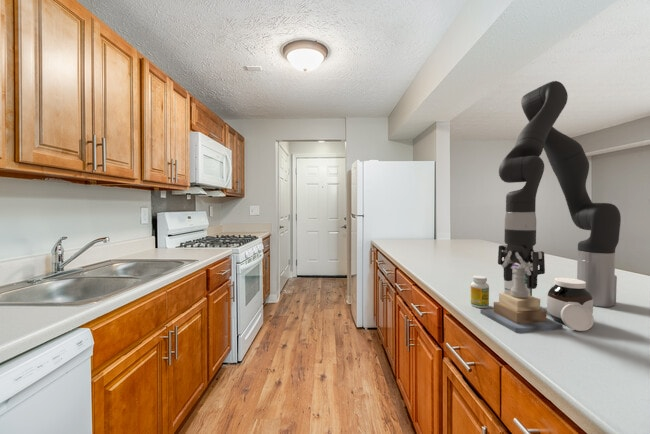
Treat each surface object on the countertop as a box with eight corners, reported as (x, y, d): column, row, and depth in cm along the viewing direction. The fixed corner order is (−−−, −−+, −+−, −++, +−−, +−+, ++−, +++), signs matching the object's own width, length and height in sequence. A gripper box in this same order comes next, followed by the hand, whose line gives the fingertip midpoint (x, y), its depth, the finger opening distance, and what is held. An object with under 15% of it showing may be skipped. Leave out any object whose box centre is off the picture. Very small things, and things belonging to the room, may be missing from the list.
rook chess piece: (506, 294, 87) (506, 267, 87) (520, 293, 88) (521, 266, 87) (517, 298, 83) (517, 270, 83) (532, 298, 83) (533, 269, 83)
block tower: (521, 310, 94) (521, 288, 93) (562, 328, 80) (563, 302, 79) (480, 313, 92) (480, 290, 91) (515, 332, 78) (515, 305, 78)
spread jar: (570, 314, 89) (571, 276, 89) (613, 330, 78) (614, 286, 78) (536, 318, 87) (536, 278, 87) (574, 334, 76) (575, 289, 76)
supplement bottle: (476, 302, 102) (476, 274, 101) (492, 306, 97) (492, 277, 97) (467, 305, 99) (467, 276, 98) (483, 309, 94) (483, 279, 94)
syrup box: (520, 308, 95) (520, 263, 95) (503, 302, 101) (503, 260, 100) (532, 306, 97) (533, 261, 97) (514, 300, 103) (515, 258, 102)
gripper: (554, 229, 78) (553, 290, 79) (512, 225, 92) (512, 277, 93) (528, 230, 77) (527, 292, 78) (490, 226, 91) (490, 279, 92)
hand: (519, 284), depth 85 cm, fingers open, 8 cm apart
